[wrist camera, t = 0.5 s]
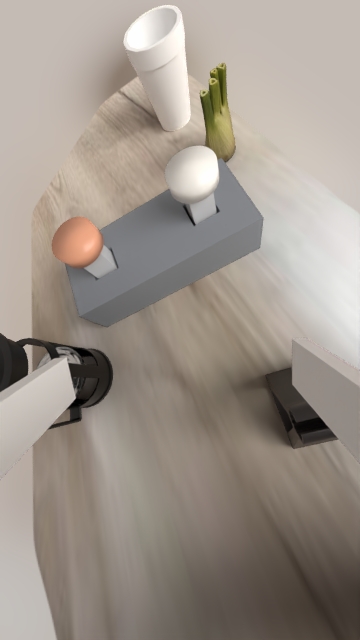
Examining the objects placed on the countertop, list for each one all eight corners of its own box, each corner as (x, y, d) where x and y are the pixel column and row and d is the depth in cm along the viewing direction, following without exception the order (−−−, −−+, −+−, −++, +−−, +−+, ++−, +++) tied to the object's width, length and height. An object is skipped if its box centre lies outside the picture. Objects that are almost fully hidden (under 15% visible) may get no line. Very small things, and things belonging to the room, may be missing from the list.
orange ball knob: (133, 276, 34) (99, 244, 26) (99, 294, 35) (57, 269, 27) (121, 246, 36) (86, 208, 28) (90, 264, 37) (47, 232, 29)
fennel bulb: (214, 174, 41) (203, 96, 30) (200, 158, 43) (184, 80, 31) (242, 154, 40) (241, 67, 29) (227, 139, 42) (220, 52, 31)
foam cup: (205, 120, 45) (190, 23, 32) (163, 145, 46) (133, 61, 34) (187, 93, 48) (168, -4, 36) (149, 117, 49) (117, 32, 37)
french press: (63, 351, 40) (-145, 318, 19) (110, 339, 38) (-62, 288, 17) (64, 422, 37) (-190, 482, 15) (116, 414, 35) (-92, 470, 13)
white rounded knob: (231, 222, 32) (227, 170, 24) (193, 243, 33) (176, 200, 25) (213, 193, 34) (203, 136, 26) (177, 214, 35) (157, 164, 27)
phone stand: (265, 374, 31) (276, 371, 19) (311, 362, 29) (352, 351, 18) (292, 447, 28) (324, 494, 17) (344, 437, 27) (416, 478, 15)
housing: (260, 247, 35) (263, 217, 29) (107, 327, 39) (79, 316, 32) (225, 194, 39) (221, 157, 33) (89, 271, 43) (62, 252, 36)
